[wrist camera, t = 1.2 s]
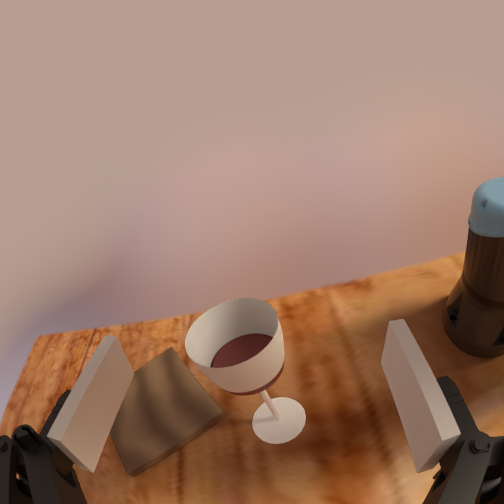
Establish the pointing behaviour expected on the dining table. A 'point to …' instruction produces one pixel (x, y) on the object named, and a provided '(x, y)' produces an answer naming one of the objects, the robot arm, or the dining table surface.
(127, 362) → the robot arm
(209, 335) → the wineglass
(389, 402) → the dining table surface
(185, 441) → the walnut board
